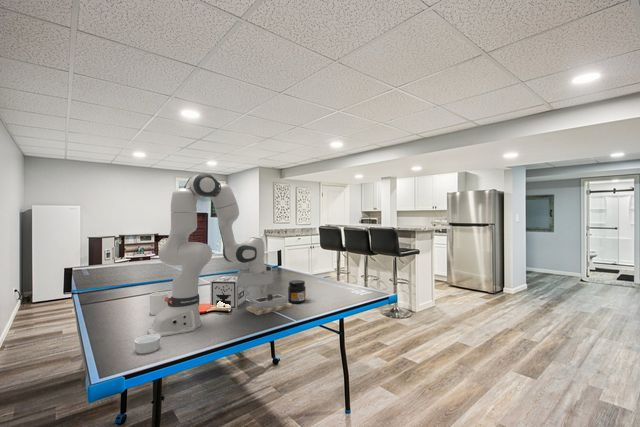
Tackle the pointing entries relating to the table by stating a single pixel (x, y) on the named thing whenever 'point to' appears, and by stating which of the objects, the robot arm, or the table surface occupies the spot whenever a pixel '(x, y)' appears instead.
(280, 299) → the silver rectangular frame
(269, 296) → the plate
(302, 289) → the supplement container
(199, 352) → the table surface
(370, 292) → the table surface
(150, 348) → the ramekin
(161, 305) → the mug
